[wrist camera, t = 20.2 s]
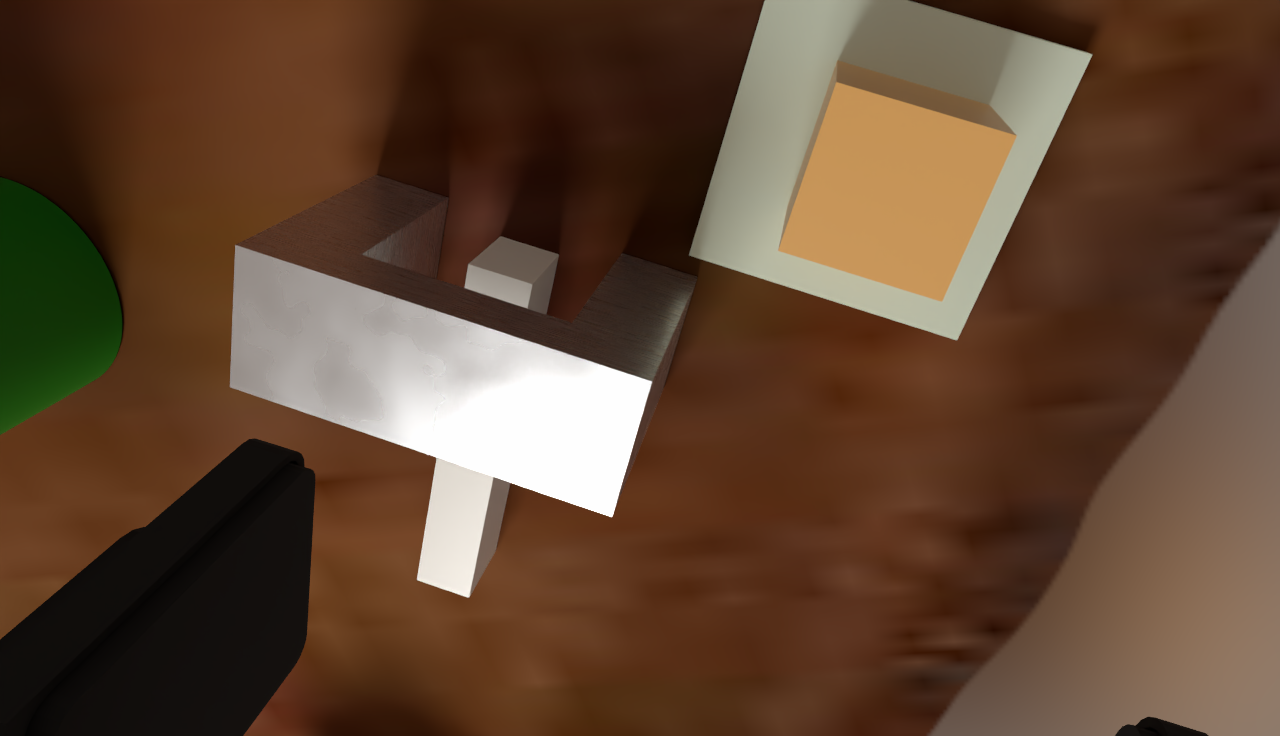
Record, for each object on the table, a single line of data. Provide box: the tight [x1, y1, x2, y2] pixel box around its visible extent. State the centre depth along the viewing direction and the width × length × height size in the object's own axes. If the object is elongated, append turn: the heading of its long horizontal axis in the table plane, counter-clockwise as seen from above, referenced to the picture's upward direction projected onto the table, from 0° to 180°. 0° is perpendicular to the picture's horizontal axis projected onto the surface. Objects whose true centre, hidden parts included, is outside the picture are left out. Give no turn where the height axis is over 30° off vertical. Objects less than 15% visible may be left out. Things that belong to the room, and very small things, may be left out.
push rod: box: [417, 236, 559, 598], centre depth 36 cm, size 15×2×4 cm, turn 166°
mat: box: [689, 0, 1092, 340], centre depth 30 cm, size 10×10×1 cm
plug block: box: [778, 60, 1017, 302], centre depth 27 cm, size 5×5×5 cm
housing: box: [230, 175, 697, 517], centre depth 31 cm, size 5×13×9 cm, turn 76°
